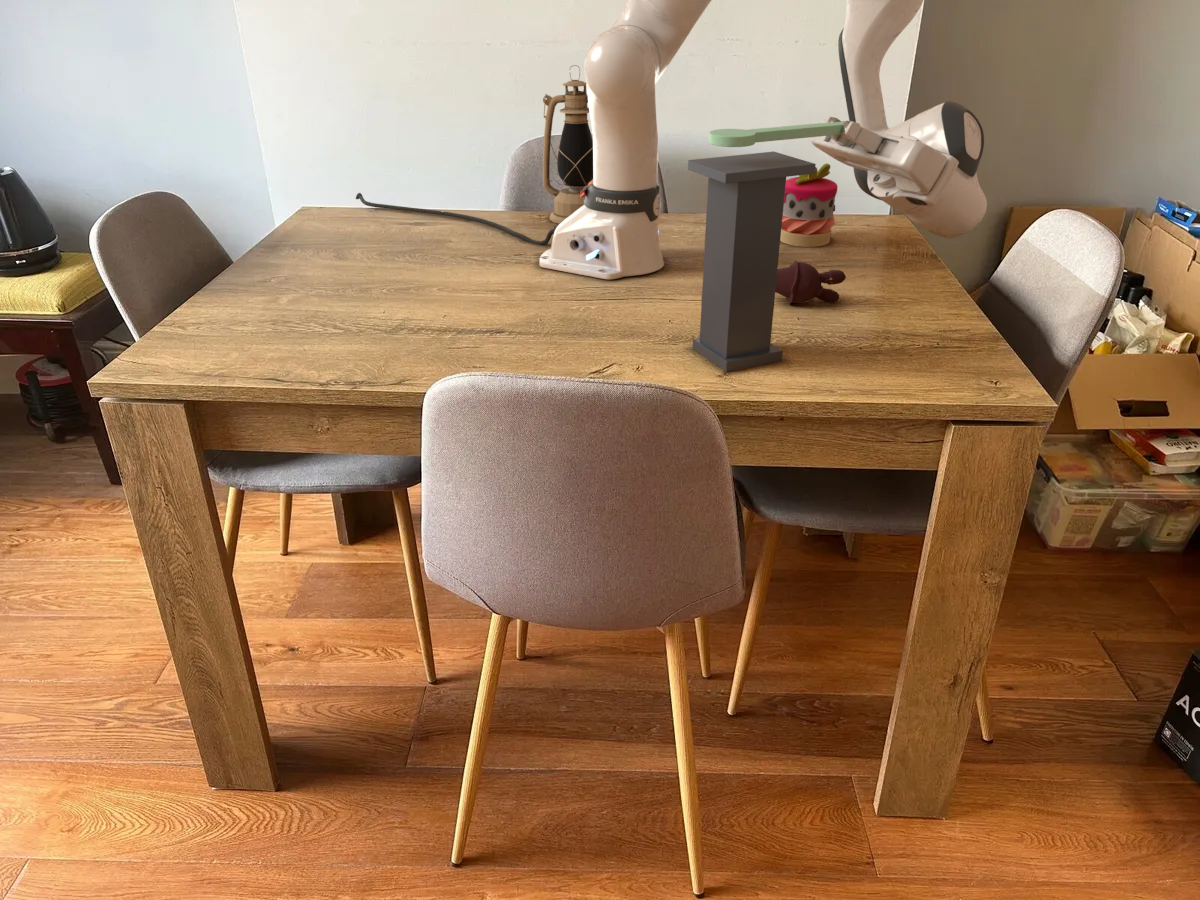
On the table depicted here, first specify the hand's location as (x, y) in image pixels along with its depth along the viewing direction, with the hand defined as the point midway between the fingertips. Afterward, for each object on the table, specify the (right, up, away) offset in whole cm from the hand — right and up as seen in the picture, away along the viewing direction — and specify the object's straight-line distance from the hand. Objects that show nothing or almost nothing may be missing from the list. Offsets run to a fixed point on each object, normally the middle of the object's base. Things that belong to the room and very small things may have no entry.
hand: (837, 124), depth 113 cm
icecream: (+1, -18, +28) cm, 34 cm away
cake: (+10, -1, +60) cm, 61 cm away
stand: (-11, -28, +10) cm, 32 cm away
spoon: (-7, -2, -2) cm, 7 cm away
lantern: (-35, +8, +75) cm, 83 cm away
